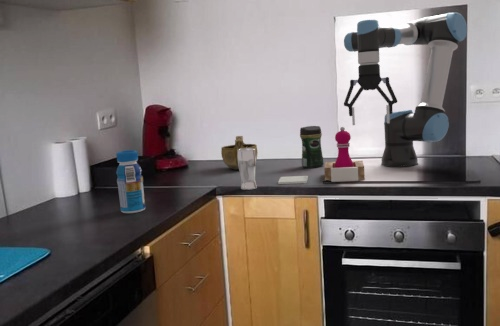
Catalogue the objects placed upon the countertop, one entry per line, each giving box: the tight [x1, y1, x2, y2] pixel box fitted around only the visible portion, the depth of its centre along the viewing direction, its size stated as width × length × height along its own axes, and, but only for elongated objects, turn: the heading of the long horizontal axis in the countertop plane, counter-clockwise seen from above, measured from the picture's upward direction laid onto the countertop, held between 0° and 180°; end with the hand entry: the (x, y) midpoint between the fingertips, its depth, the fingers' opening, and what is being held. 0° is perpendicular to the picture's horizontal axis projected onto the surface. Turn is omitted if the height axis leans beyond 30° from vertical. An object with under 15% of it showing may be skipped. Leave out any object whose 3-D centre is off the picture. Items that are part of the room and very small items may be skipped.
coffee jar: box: [299, 125, 325, 169], centre depth 224 cm, size 10×8×19 cm
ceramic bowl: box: [220, 135, 258, 171], centre depth 232 cm, size 22×17×15 cm
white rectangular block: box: [331, 167, 359, 183], centre depth 186 cm, size 10×2×5 cm, turn 80°
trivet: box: [277, 175, 309, 185], centre depth 195 cm, size 11×11×1 cm
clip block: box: [324, 160, 366, 182], centre depth 196 cm, size 15×14×5 cm
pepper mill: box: [334, 126, 353, 168], centre depth 194 cm, size 7×7×20 cm
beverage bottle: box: [115, 149, 146, 214], centre depth 163 cm, size 8×8×20 cm
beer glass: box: [237, 148, 258, 191], centre depth 186 cm, size 7×7×15 cm
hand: (370, 124), depth 182 cm, fingers open, 12 cm apart
